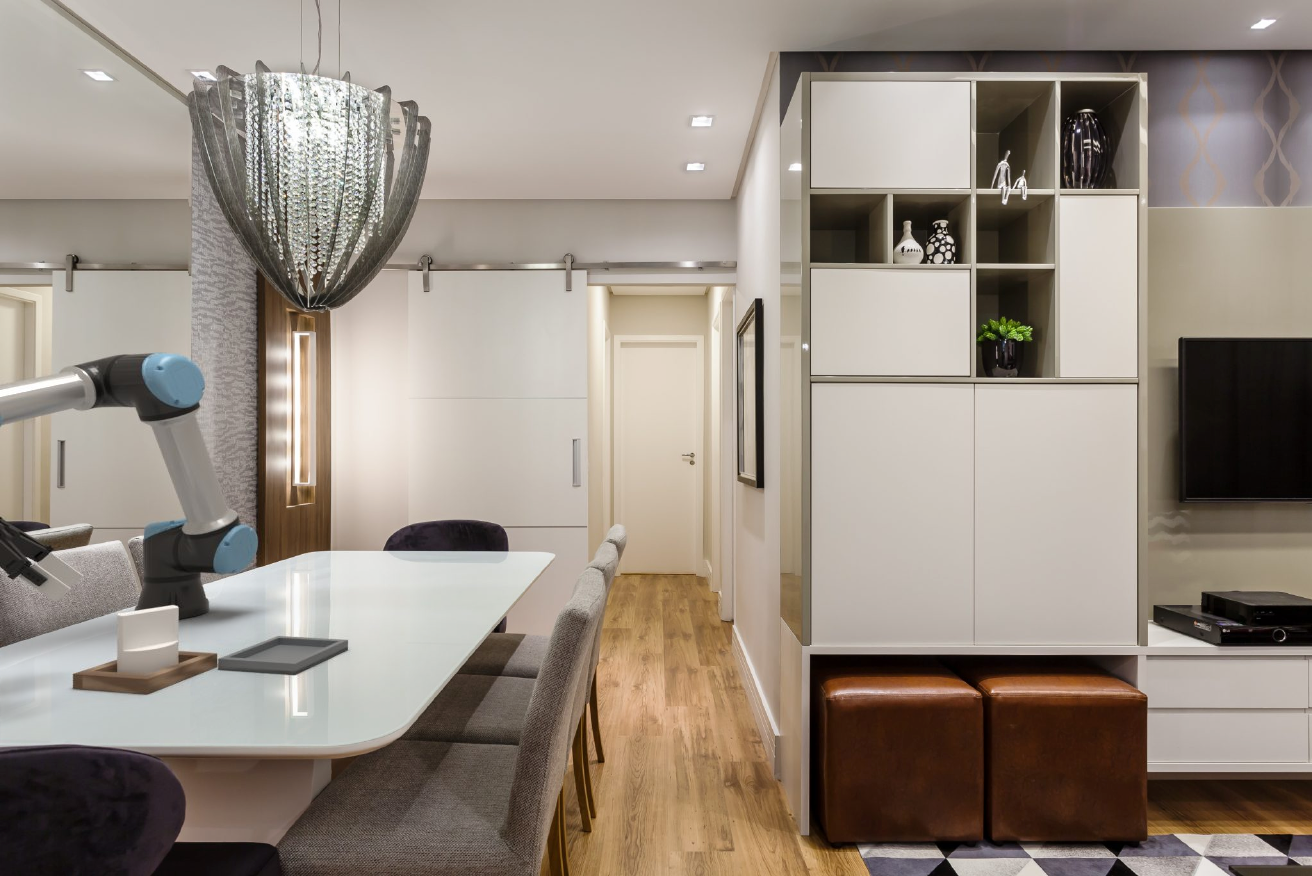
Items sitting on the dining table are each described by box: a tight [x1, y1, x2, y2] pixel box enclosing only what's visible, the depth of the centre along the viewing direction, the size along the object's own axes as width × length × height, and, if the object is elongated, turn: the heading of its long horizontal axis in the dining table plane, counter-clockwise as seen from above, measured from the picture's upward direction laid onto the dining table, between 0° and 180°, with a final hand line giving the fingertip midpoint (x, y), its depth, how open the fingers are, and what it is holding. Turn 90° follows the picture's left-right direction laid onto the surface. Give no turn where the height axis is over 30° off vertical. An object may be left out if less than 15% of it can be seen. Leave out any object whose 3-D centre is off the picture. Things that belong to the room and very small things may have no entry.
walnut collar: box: [72, 650, 218, 695], centre depth 130 cm, size 15×15×2 cm
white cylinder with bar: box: [116, 605, 180, 675], centre depth 130 cm, size 9×9×12 cm
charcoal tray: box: [217, 635, 349, 676], centre depth 141 cm, size 16×16×2 cm
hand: (70, 588), depth 124 cm, fingers open, 13 cm apart
